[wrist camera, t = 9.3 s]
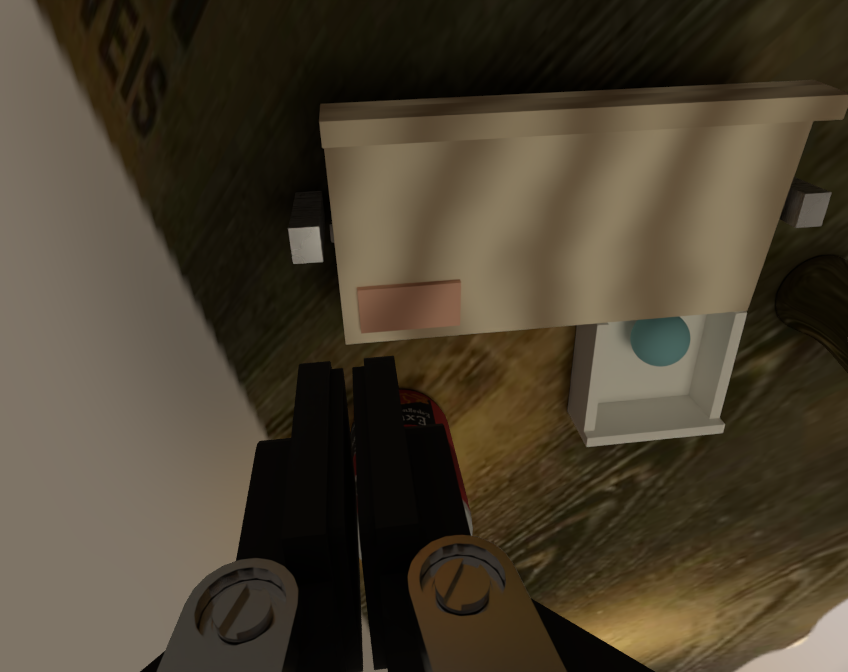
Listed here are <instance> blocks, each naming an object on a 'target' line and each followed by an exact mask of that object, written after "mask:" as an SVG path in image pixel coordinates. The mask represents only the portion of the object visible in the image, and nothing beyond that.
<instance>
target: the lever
mask: <svg viewBox="0 0 848 672" xmlns="http://www.w3.org/2000/svg"><path fill="white" fill-rule="evenodd" d="M847 107H848V93H847V92H844V91H842V90H839V89H836V88H834V87H831V86H828V85H826V84H823V83H821V82H818V81H815V80H801V81H780V82H760V83H739V84H719V85H698V86H677V87H657V88H636V89H616V90H595V91H575V92H554V93H534V94H513V95H493V96H472V97H452V98H431V99H411V100H390V101H370V102H349V103H328V104H320V116H319V125H320V133H321V142H322V148H324V152H325V161H326V170H327V179H328V188H329V197H330V206H331V215H332V224H330V235H331V242H335V251H336V260H337V269H338V278H339V287H340V296H341V305H342V314H343V323H344V332H345V341H346V344H357V343H369V342H381V341H393V340H405V339H417V338H429V337H441V336H452V335H464V334H476V333H488V332H500V331H512V330H524V329H536V328H547V327H559V326H571V325H583V324H595V323H607V322H619V321H631V320H642V319H654V318H666V317H678V316H690V315H702V314H714V313H726V312H738V311H747V310H748V307H749V304H750V301H751V298H752V295H753V292H754V290H755V287H756V284H757V281H758V278H759V275H760V272H761V269H762V267H763V264H764V261H765V258H766V255H767V252H768V249H769V246H770V244H771V241H772V238H773V235H774V232H775V229H776V226H777V224H778V221H779V218H780V215H781V212H782V209H783V206H784V203H785V201H786V198H787V195H788V192H789V189H790V186H791V183H792V180H793V178H794V175H795V172H796V169H797V166H798V163H799V160H800V157H801V155H802V152H803V149H804V146H805V143H806V140H807V137H808V134H809V132H810V129H811V126H812V123H813V121H823V120H841V119H843V118H844V115H845V113H846V110H847Z"/></svg>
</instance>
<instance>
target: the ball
mask: <svg viewBox="0 0 848 672" xmlns="http://www.w3.org/2000/svg"><path fill="white" fill-rule="evenodd" d="M630 341H631V346H632V349H633V351H634V353H635V354H636V355H637V357H638V358H639V359H641V360H642V361H643V362H645V363H647V364H649V365H652V366H659V367H662V366H668V365H672V364H674V363H676V362H678V361H679V360H680V359H681V358H683V356H684V355H685V354H686V352H687V351H688V348H689V345H690V331H689V329H688V326H687V325H686V323H685V322H684V320H683V319H682V318H680V317H679V316H678V317H666V318H654V319H642V320H637V321H636V323H635V324H634V326H633V328H632V331H631V335H630Z"/></svg>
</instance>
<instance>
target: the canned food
mask: <svg viewBox="0 0 848 672" xmlns="http://www.w3.org/2000/svg"><path fill="white" fill-rule="evenodd" d="M399 394H400V400H401V407H402V414H403V420H404V427H410V426H420V425H430V424H440V423H443V425H444V427H445V430H446V434H447V438H448V442H449V446H450V450H451V455H452V459H453V463H454V467H455V471H456V475H457V480H458V484H459V488H460V492H461V496H462V500H463V504H464V509H465V513H466V517H467V521H468V525H469V529H470V533H471V536H472V530H473V527H472V519H471V513H470V509H469V505H468V499H467V495H466V492H465V488H464V484H463V480H462V476H461V472H460V468H459V464H458V460H457V457H456V453H455V449H454V445H453V441H452V437H451V433H450V429H449V425H448V422H447V419H446V417H445V415H444V413H443V412H442V410H441V409H440V408H439V407H438V405H437V404H436V403H435V402H434V401H432V400H431V399H430V398H429V397H427V396H425V395H423V394H422V393H418V392H415V391H411V390H399ZM350 435H351V444H352V453H353V462H354V471H355V480H356V452H355V425H354V422H353V425H352V428H351V433H350ZM356 492H357V480H356ZM357 513H358V507H357ZM358 541H359V557H360V559H361V560H362V558H361V549H360V539H359V526H358Z"/></svg>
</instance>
